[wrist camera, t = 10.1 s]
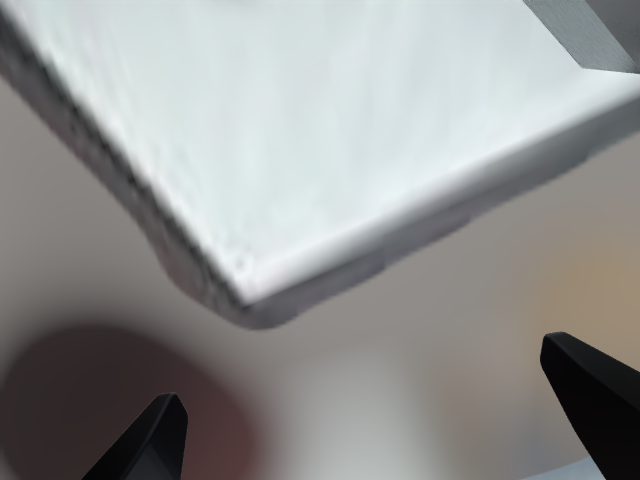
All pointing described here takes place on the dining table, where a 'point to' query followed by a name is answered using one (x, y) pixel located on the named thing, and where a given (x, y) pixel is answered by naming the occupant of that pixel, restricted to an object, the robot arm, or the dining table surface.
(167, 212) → the dining table surface
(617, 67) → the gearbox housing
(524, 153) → the dining table surface
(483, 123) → the dining table surface
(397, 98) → the dining table surface
